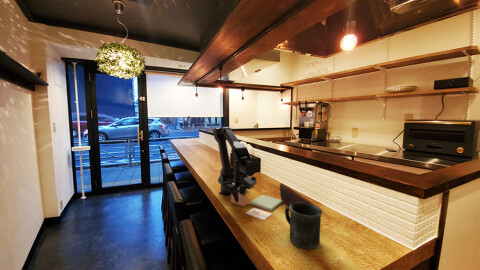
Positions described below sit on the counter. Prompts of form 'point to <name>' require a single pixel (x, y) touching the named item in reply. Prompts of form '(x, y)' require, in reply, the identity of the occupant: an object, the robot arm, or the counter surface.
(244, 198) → the terracotta brick
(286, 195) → the wooden tablet
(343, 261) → the counter surface
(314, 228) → the mug
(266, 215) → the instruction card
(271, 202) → the baseplate
